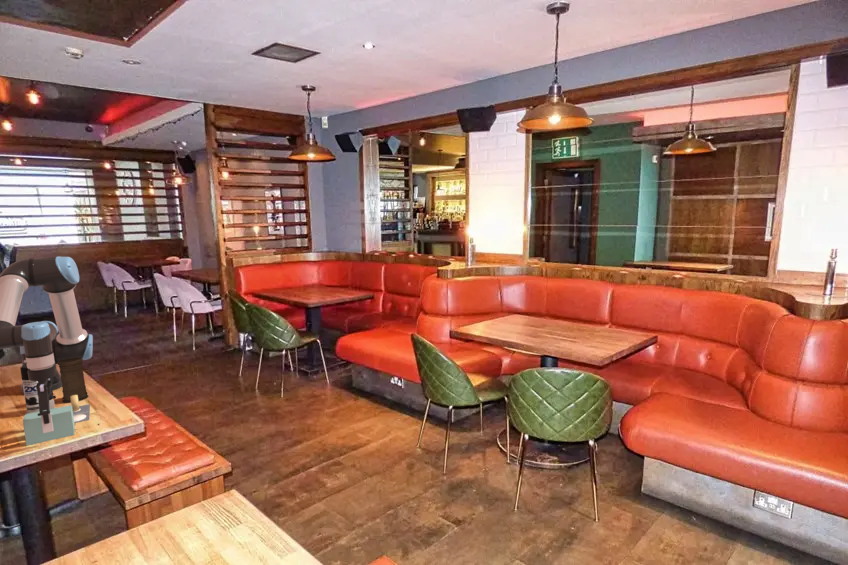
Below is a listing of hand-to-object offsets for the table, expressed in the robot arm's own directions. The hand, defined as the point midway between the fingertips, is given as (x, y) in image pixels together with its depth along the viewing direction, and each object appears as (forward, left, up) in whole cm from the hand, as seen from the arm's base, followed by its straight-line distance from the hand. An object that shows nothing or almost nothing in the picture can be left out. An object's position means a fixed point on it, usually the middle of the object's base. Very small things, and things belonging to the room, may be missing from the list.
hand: (50, 424), depth 168 cm
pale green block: (0, 0, -4) cm, 5 cm away
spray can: (-29, -6, -5) cm, 30 cm away
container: (-35, +6, -5) cm, 36 cm away
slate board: (-15, +2, -4) cm, 16 cm away
